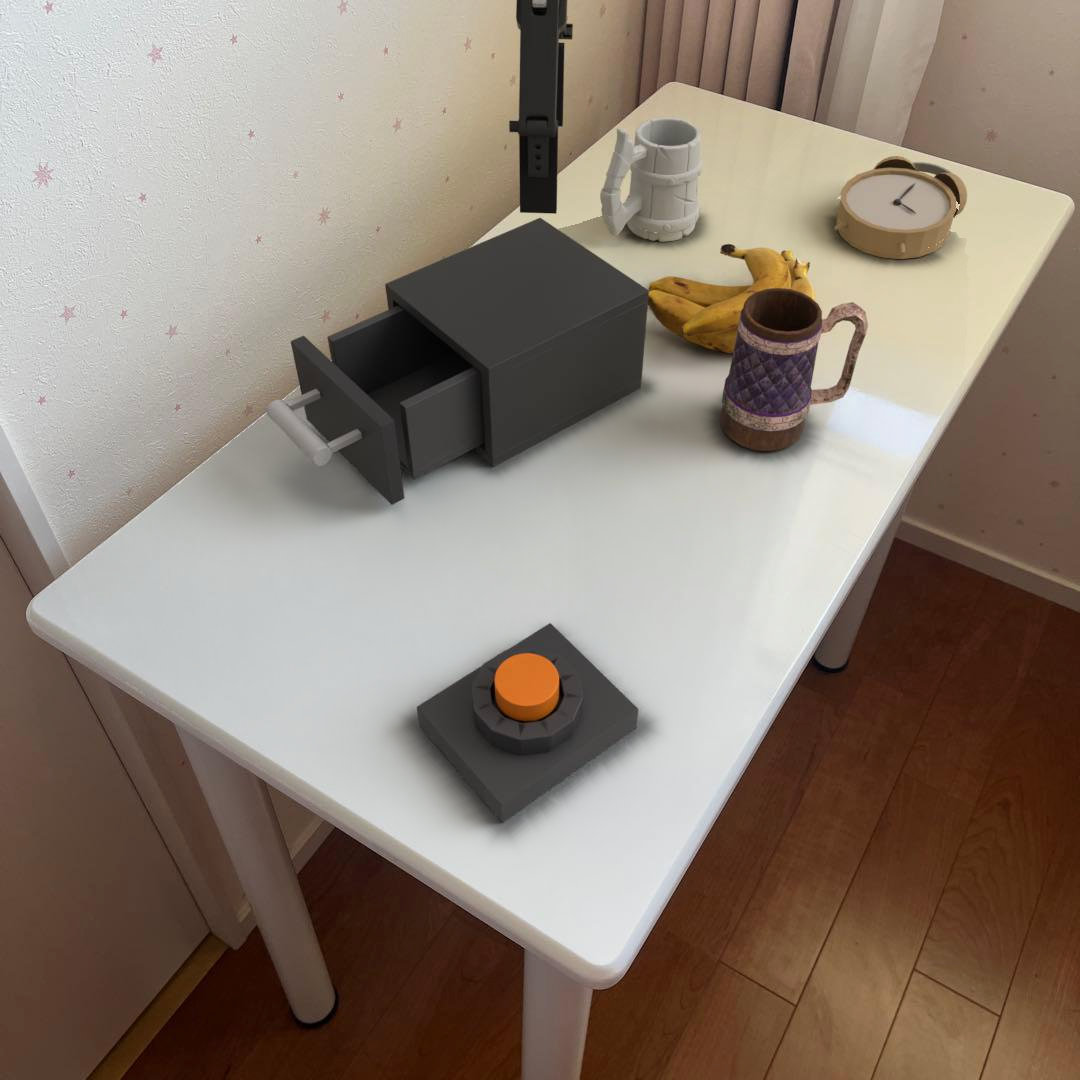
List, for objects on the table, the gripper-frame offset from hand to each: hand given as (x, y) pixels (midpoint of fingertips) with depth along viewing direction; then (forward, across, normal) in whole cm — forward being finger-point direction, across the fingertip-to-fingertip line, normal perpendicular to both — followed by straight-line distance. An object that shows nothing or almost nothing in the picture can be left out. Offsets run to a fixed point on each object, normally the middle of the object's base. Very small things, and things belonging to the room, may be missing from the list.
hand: (542, 165), depth 86 cm
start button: (+14, -40, -1) cm, 43 cm away
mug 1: (+18, +20, -10) cm, 28 cm away
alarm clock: (+17, +22, -36) cm, 46 cm away
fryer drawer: (+17, -13, +11) cm, 24 cm away
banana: (+18, +6, -17) cm, 25 cm away
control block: (+18, -40, -1) cm, 44 cm away
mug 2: (+18, -10, -20) cm, 29 cm away
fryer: (+18, -5, +2) cm, 19 cm away
